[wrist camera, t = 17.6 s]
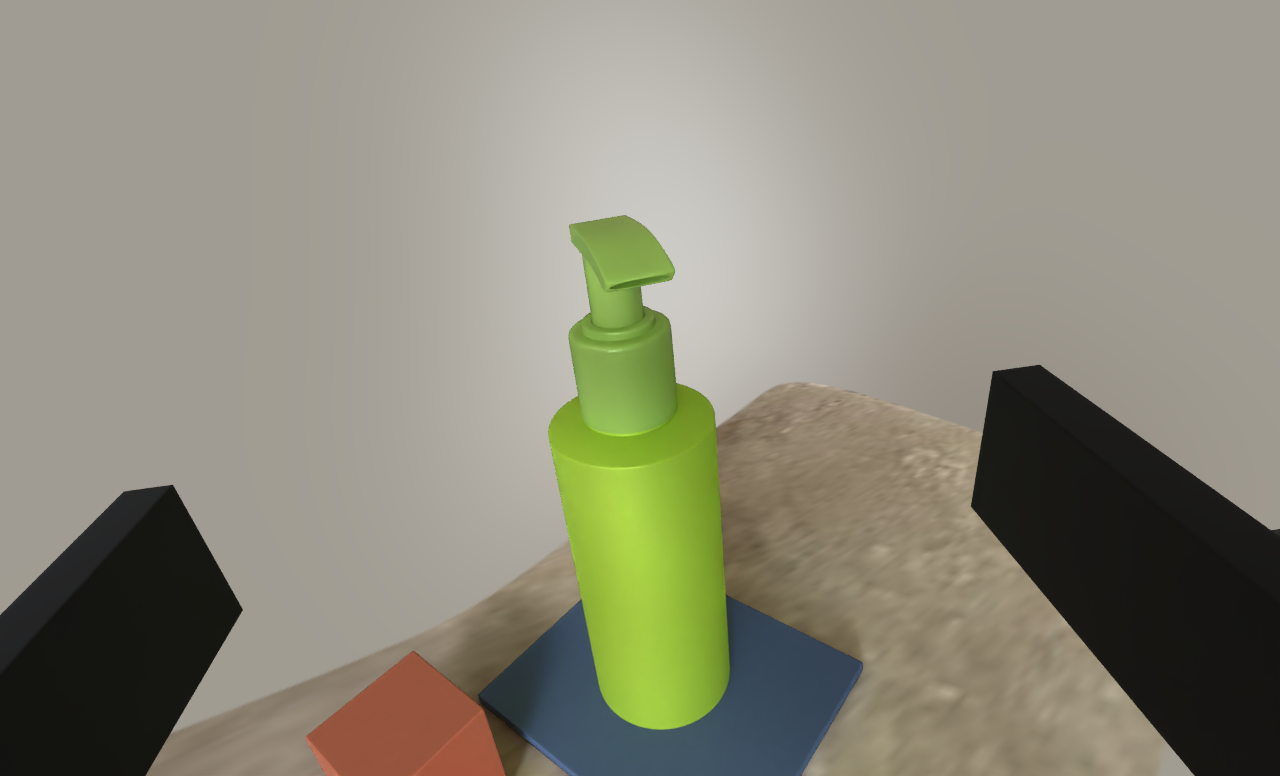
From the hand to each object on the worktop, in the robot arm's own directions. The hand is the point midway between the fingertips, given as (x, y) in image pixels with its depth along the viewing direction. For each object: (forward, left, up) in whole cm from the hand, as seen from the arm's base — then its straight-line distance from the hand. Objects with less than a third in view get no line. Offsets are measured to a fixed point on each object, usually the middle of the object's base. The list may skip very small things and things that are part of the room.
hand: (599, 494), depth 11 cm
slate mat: (+7, -8, -19) cm, 22 cm away
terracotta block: (+11, +1, -18) cm, 22 cm away
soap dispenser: (+7, -8, -19) cm, 21 cm away
